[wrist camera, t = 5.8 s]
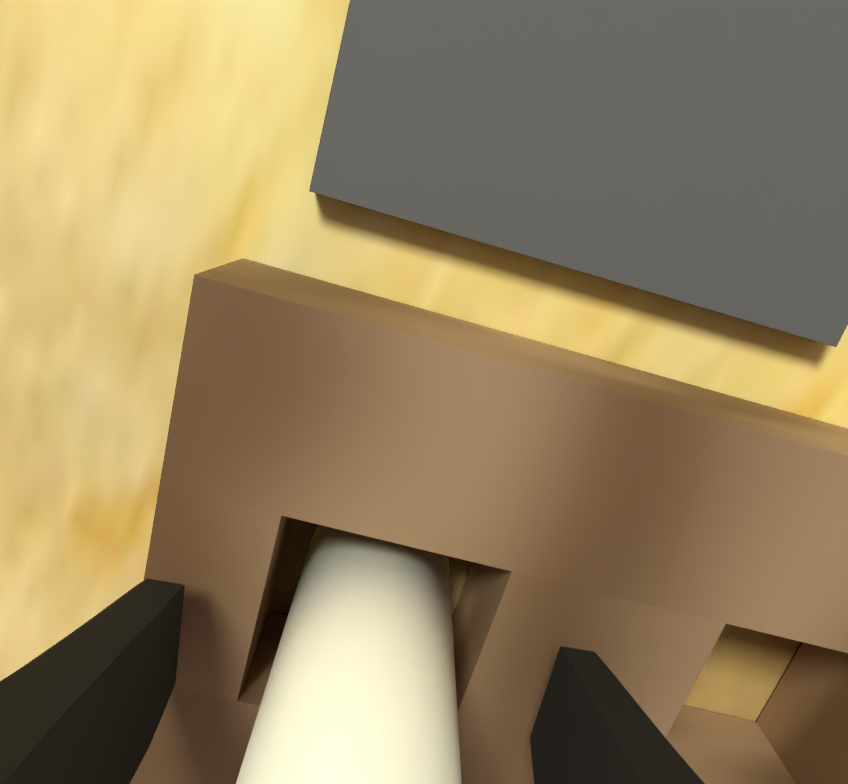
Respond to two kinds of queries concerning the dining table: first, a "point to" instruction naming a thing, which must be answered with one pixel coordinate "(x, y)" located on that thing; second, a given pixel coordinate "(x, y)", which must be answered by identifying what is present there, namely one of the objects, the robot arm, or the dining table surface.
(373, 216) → the dining table surface
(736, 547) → the socket board
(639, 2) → the mat
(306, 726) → the plug
